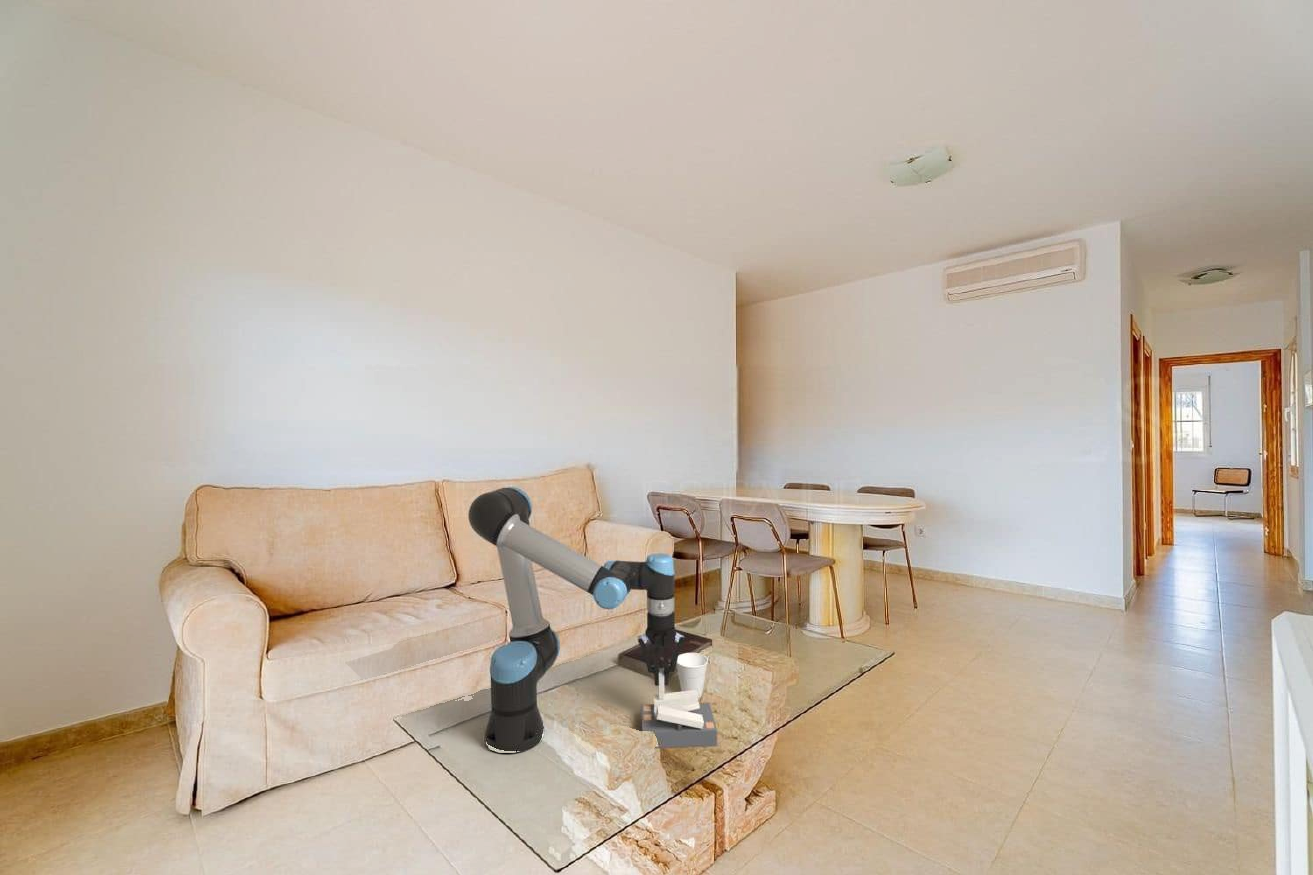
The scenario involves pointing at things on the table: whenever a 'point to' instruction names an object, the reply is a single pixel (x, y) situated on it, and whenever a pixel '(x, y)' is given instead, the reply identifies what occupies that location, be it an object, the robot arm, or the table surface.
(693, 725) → the rocker
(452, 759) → the table surface
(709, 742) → the switch unit
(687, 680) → the cup
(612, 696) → the table surface
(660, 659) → the dark brown tray
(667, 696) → the rocker
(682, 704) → the white block
